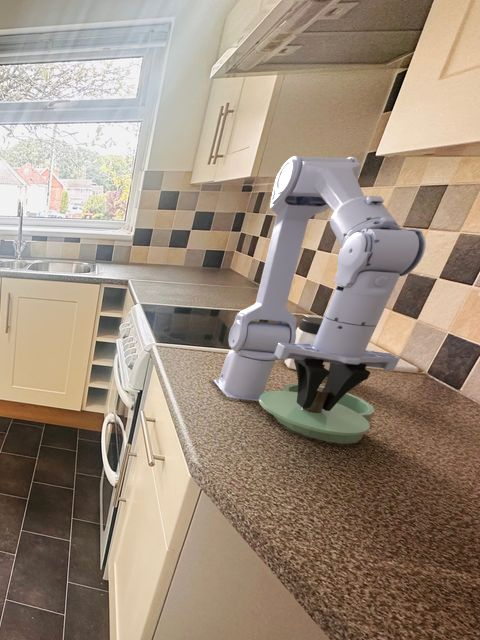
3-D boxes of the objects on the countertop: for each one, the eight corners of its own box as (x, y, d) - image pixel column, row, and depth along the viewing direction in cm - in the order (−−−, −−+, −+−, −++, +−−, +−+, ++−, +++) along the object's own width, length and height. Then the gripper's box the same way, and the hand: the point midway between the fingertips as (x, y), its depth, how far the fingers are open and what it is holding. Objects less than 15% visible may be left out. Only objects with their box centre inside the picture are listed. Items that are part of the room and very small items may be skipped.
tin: (261, 407, 82) (271, 379, 80) (333, 415, 80) (346, 387, 78) (292, 439, 71) (305, 409, 69) (377, 450, 69) (393, 419, 66)
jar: (307, 362, 108) (325, 317, 103) (335, 374, 100) (356, 326, 95) (275, 362, 107) (292, 316, 102) (301, 374, 99) (321, 326, 94)
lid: (244, 392, 72) (252, 367, 70) (333, 402, 69) (345, 377, 67) (280, 431, 60) (291, 403, 58) (390, 445, 57) (405, 416, 55)
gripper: (306, 323, 56) (271, 412, 61) (433, 334, 53) (385, 425, 59) (282, 310, 62) (252, 392, 68) (394, 319, 59) (354, 403, 65)
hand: (312, 406), depth 64 cm, fingers closed on lid, 2 cm apart
